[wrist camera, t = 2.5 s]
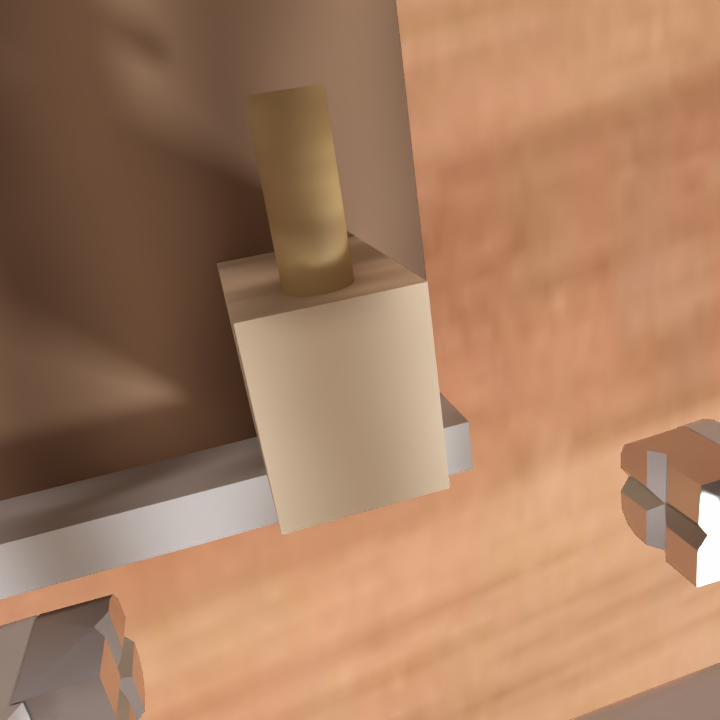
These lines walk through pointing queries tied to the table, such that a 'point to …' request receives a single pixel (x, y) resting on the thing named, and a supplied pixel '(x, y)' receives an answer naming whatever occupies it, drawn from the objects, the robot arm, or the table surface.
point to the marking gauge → (330, 336)
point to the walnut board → (161, 258)
